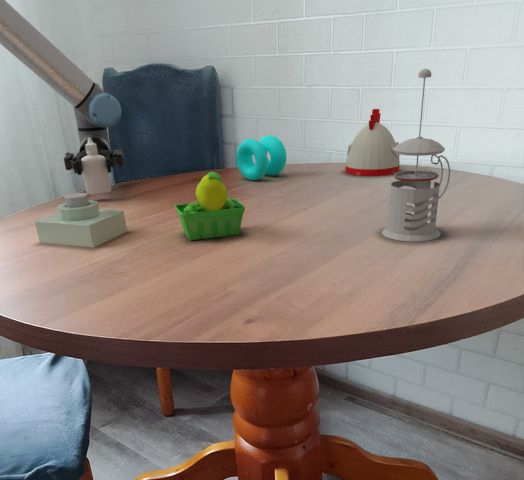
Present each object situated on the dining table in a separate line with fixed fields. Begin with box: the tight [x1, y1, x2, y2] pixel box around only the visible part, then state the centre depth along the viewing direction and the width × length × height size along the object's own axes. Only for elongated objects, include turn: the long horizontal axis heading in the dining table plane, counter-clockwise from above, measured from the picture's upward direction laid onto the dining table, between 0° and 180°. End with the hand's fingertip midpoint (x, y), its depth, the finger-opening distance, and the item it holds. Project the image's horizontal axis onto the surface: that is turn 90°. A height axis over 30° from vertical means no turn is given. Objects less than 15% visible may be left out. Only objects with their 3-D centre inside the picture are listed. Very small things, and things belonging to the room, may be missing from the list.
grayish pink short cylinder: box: [63, 192, 90, 208], centre depth 96 cm, size 4×4×2 cm
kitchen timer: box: [344, 108, 401, 177], centre depth 139 cm, size 14×14×15 cm
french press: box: [381, 68, 451, 242], centre depth 87 cm, size 10×12×25 cm
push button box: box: [34, 199, 128, 249], centre depth 98 cm, size 12×10×6 cm
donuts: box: [235, 134, 287, 181], centre depth 139 cm, size 10×10×10 cm
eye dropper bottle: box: [81, 138, 112, 196], centre depth 122 cm, size 4×6×12 cm
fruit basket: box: [174, 171, 246, 241], centre depth 94 cm, size 11×9×11 cm
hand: (93, 167), depth 118 cm, fingers closed on eye dropper bottle, 6 cm apart
